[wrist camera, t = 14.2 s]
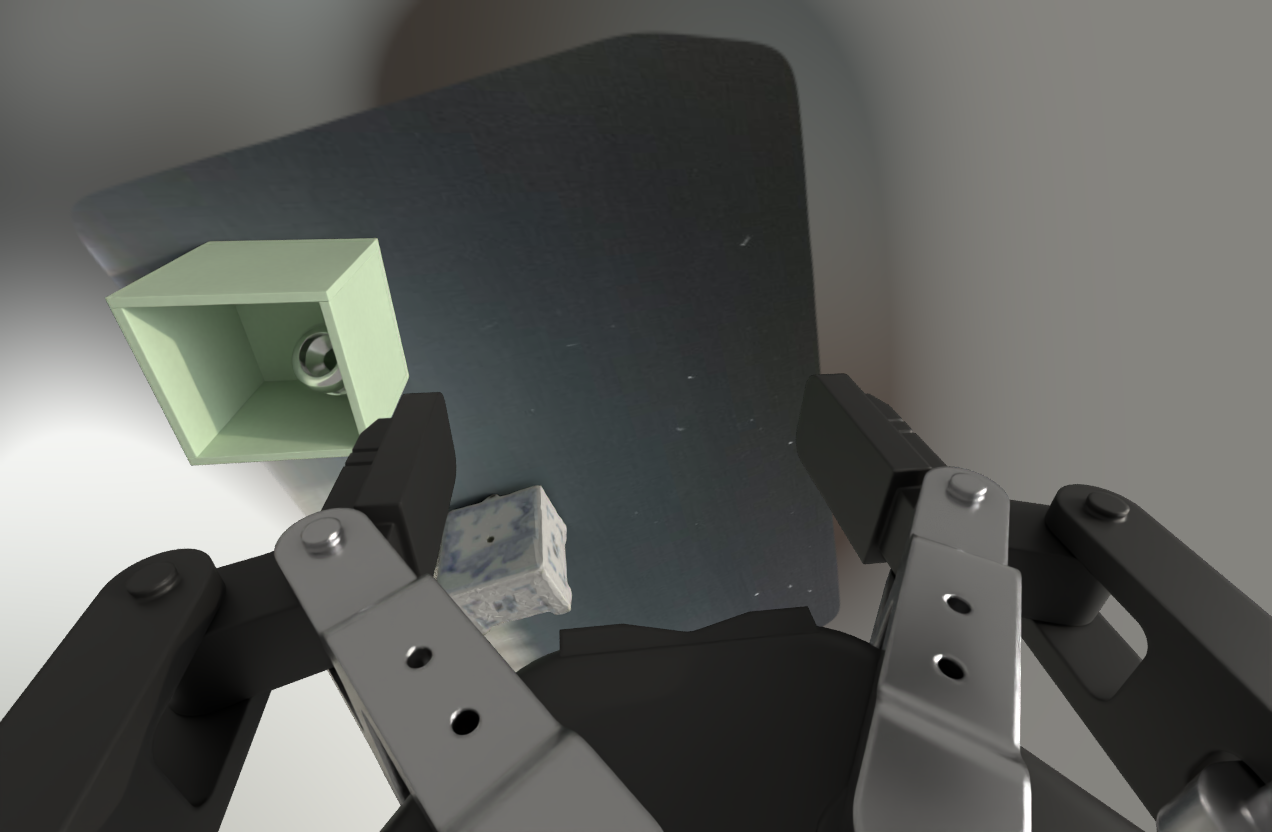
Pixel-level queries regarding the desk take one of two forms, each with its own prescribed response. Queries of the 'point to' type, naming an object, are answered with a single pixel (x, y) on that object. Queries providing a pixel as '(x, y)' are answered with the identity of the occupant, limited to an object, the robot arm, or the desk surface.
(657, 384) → the desk surface
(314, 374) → the metal grooved wheel
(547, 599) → the incense holder
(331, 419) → the waste bin
